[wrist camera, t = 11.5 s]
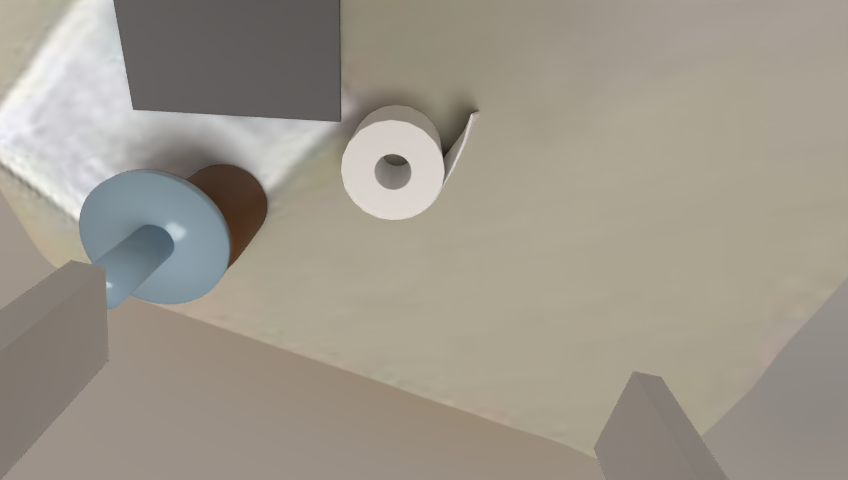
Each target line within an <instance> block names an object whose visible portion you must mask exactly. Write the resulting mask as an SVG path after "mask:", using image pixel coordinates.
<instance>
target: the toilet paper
mask: <svg viewBox="0 0 848 480" xmlns="http://www.w3.org/2000/svg"><path fill="white" fill-rule="evenodd" d="M479 114H480V112H479V111H478V112H475V113H472V114H471V116H470V118H469V120H468V123H467V125H466V128H465V130H464V131H463V133H462V134H461V135H460V137H459V138H458V139H457V141H456V142H455V143H454V145H453V146H452V147H451V149H450V150H449V151H448V153H447V154H446V155H445V157H444V158H443V156H442V149H441V143H440V136H439V134H438V132H437V130H436V128H435V126H434V124H433V123H432V122H431V121H430V120H429V119H428V118H427V117H426V116H425V115H424V114H423V113H421V112H419V111H417V110H415V109H413V108H411V107H407V106H401V105H391V106H385V107H381V108H379V109H377V110H375V111H373V112H371V113H370V114H368V115H367V116H366V118H365V119H364V120H363V121H362V122H361V123H360V124H359V126H358V127H357V129H356V131H355V133H354V134H353V136H352V138H351V140H350V141H349V143H348V146H347V148H346V150H345V152H344V155H343V157H342V169H341V174H342V178H343V182H344V186H345V189H346V190H347V192H348V194H349V195H350V197H351V199H352V200H353V202H355V203H356V204H357V205H358V206H359V207H360V208H361V209H363V210H364V211H365V212H367V213H369V214H371V215H374V216H376V217H378V218H383V219H390V220H399V219H405V218H410V217H412V216H415V215H417V214H419V213H421V212H423V211H424V210H425V209H426V208H427V207H429V206H430V205H431V204H432V203H433V202H434V201H435V199H436V198H437V196H438V194H439V193H440V191H441V189H442V188H443V186H444V184H445V183H446V181H447V179H448V178H449V176H450V174H451V173H452V171H453V169H454V167H455V165H456V163H457V161H458V158H459V156H460V154H461V152H462V149H463V147H464V145H465V143H466V141H467V139H468V137H469V135H470V133H471V131H472V129H473V127H474V124H475V122H476V120H477V118H478V116H479ZM388 154H397V155H400V156H402V157H404V158H405V159H406V160H407V161H408V162H407V163H406V164H404V165H401V166H394V165H391V164H389V163H387V162H386V161H385V160H384V158H383V156H385V155H388Z"/></svg>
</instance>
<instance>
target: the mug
mask: <svg viewBox="0 0 848 480" xmlns="http://www.w3.org/2000/svg"><path fill="white" fill-rule="evenodd" d="M187 181H188V182H190V183H192V184H193V185H195V186H196V187H198V188H199V189H200V190H201V191H203V192H204V193H205V194H206V195H207V196H208V197H209V198H210V199H211V200H212V201H213V202H214V203H215V205H216V206H217V207H218V209H219V210H220V212H221V213H222V215H223V217H224V219H225V221H226V223H227V225H228V228H229V231H230V236H231V242H232V252H231V259H230V263H229V265H228V268H229V267H230V266H231V265H232V264H233V263H234V262H235V261H236V260H237V259H238V257H239V256H240V255H241V253H242V252H243V251H244V250H245V248H246V247H247V246H248V244H249V243H250V241H251V240H252V239H253V237H254V236H255V234H256V233H257V232H258V230H259V229H260V227H261V226H262V224H263V222H264V220H265V217H266V212H267V202H266V197H265V194H264V192H263V190H262V188H261V186H260V185H259V184H258V182H257V181H256V180H255V179H254V178H253V177H252V176H251V175H249V174H248V173H246V172H245V171H243V170H241V169H239V168H236V167H233V166H229V165H215V166H210V167H206V168H204V169H202V170H200V171H199V172H197V173H195V174H194V175H193V176H191V177H190V178H188V179H187ZM228 268H227V269H228Z"/></svg>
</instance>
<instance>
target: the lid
mask: <svg viewBox="0 0 848 480" xmlns="http://www.w3.org/2000/svg"><path fill="white" fill-rule="evenodd" d="M79 231H80V236H81V241H82V244H83V247H84V249H85V251H86V253H87V255H88V257H89V259H90V261H91V262H92V265H97V266H102V267H106V296H107V309H112V308H115V307H117V306H119V305H120V304H121V303H122V302H123V301H124V300H125V299H126V298H127V297H128V296H129V295H131V296H133V297H136V298H138V299H141V300H144V301H148V302H152V303H157V304H180V303H186V302H190V301H193V300H195V299H198V298H200V297H202V296H203V295H205V294H207V293H208V292H209V291H210V290H212V289H213V288H214V287H215V285H216V284H217V283H218V282H219V281H220V279H221V278H222V277H223V275H224V273H225V272H226V270H227V268H228V265H229V263H230V259H231V252H232V242H231V236H230V231H229V228H228V225H227V223H226V221H225V219H224V217H223V215H222V213H221V212H220V210H219V209H218V207H217V206H216V205H215V203H214V202H213V201H212V200H211V199H210V198H209V197H208V196H207V195H206V194H205V193H204V192H203V191H201V190H200V189H199V188H198V187H196V186H195V185H193V184H192V183H190V182H188V181H187V180H185V179H182V178H180V177H178V176H176V175H173V174H170V173H167V172H163V171H158V170H149V169H139V170H131V171H126V172H123V173H120V174H118V175H116V176H114V177H111V178H110V179H108V180H106V181H104V182H102V183H101V184H100V185H98V186H97V187H96V188H95V189H94V190H93V191H92V192H91V193H90V194H89V195H88V197H87V198H86V200H85V202H84V204H83V206H82V209H81V213H80V219H79Z"/></svg>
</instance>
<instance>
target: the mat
mask: <svg viewBox="0 0 848 480" xmlns="http://www.w3.org/2000/svg"><path fill="white" fill-rule="evenodd" d="M113 1H114V6H115V12H116V17H117V23H118V28H119V34H120V39H121V45H122V50H123V56H124V61H125V67H126V73H127V78H128V84H129V89H130V95H131V100H132V106H133V110H149V111H166V112H183V113H199V114H216V115H233V116H250V117H267V118H284V119H301V120H318V121H335V122H340V121H341V65H340V0H113Z"/></svg>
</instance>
